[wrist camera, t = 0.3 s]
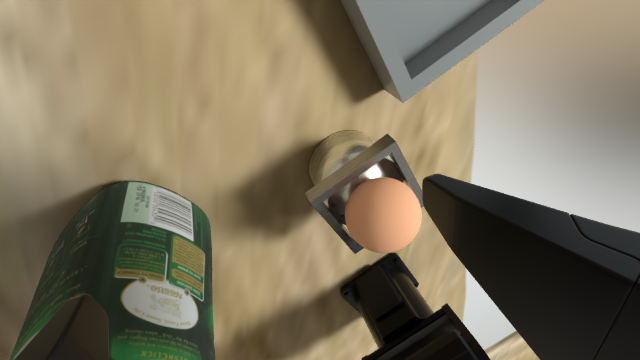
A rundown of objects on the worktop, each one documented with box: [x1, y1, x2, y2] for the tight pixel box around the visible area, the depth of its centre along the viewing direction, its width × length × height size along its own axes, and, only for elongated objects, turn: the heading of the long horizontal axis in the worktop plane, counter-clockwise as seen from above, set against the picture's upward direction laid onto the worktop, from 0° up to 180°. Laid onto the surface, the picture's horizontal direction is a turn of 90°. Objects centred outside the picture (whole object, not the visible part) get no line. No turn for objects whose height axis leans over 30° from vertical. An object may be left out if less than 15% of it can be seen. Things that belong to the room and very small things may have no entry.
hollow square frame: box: [305, 130, 424, 254], centre depth 24 cm, size 6×6×5 cm
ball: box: [345, 177, 422, 253], centre depth 21 cm, size 4×4×4 cm
